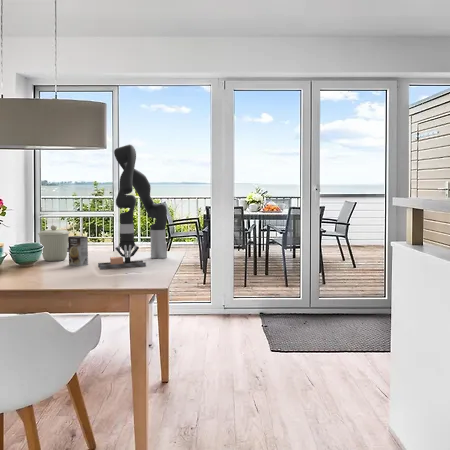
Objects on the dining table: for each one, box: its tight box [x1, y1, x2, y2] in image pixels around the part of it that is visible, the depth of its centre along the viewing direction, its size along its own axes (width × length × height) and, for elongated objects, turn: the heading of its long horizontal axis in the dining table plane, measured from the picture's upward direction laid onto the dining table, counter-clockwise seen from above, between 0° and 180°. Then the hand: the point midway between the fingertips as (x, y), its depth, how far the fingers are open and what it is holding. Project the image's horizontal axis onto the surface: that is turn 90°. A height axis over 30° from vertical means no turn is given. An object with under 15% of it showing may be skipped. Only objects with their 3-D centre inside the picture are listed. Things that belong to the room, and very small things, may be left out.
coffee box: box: [68, 235, 89, 267], centre depth 285 cm, size 9×6×16 cm
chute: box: [97, 260, 147, 270], centre depth 272 cm, size 24×10×3 cm, turn 110°
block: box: [109, 256, 124, 265], centre depth 271 cm, size 6×6×5 cm
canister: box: [37, 224, 70, 262], centre depth 304 cm, size 18×18×21 cm
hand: (127, 264), depth 273 cm, fingers closed
